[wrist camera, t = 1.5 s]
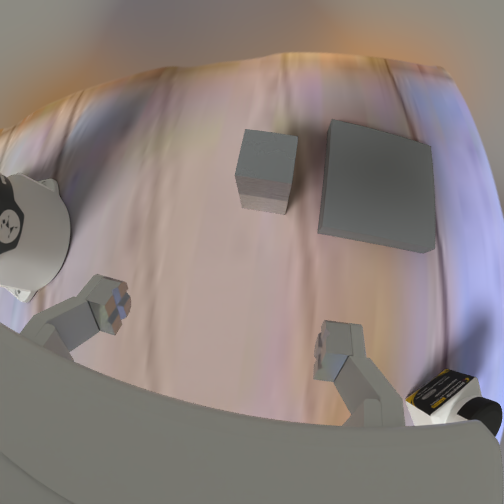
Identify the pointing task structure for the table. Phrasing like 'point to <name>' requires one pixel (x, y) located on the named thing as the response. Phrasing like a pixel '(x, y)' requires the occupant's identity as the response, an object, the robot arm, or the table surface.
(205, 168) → the table surface
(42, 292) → the table surface
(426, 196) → the charcoal stand
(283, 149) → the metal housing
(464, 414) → the medicine bottle
